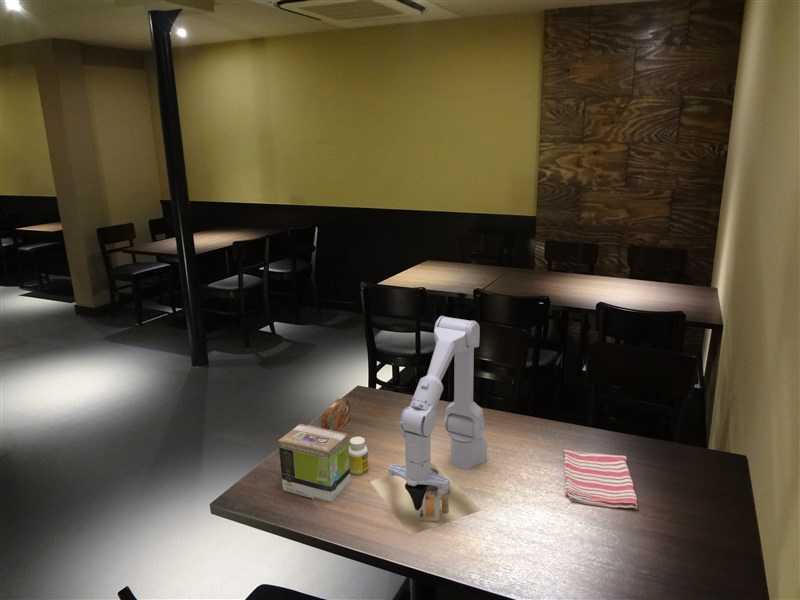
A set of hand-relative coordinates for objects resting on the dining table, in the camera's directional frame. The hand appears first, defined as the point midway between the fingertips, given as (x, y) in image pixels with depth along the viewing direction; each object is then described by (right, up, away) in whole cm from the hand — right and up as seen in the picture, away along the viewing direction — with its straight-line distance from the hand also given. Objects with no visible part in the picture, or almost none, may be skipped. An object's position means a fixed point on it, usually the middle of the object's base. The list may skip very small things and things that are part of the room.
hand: (418, 507), depth 131 cm
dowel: (+6, -2, +2) cm, 7 cm away
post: (+4, 0, +10) cm, 11 cm away
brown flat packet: (-24, +8, +42) cm, 50 cm away
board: (+1, -1, +8) cm, 8 cm away
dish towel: (+47, +1, +14) cm, 49 cm away
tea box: (-26, 0, +13) cm, 29 cm away
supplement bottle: (-16, +2, +19) cm, 25 cm away
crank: (+3, 0, +6) cm, 7 cm away
